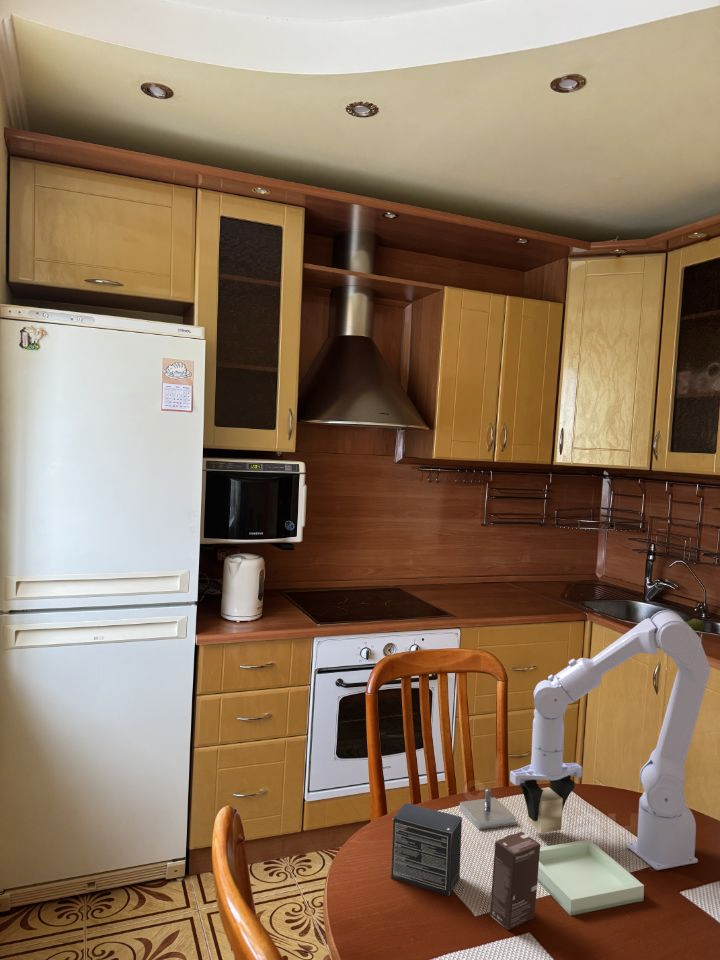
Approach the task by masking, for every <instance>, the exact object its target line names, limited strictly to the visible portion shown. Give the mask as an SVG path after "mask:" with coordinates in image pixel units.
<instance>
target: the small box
mask: <svg viewBox="0 0 720 960" xmlns="http://www.w3.org/2000/svg"><path fill="white" fill-rule="evenodd" d="M462 822H463V817H462V816H459V815H455V814H450V813H447V812H444V811H440V810H435V809H432V808H427V807H423V806H419V805H416V804H411V803H408V802H405V803H404V804H403V805H402V806H401V807H400V809H399V810H398V811H397V812H396V814H394V816H393V817H392V823H393V824H392V845H391V846H392V847H391V850H392V851H391V852H392V853H391V873H390V879H392V880H395V881H398V882H399V881H400V882H403V883H405V884H409V885H411V886H414V887H415V886H416V887H419V888H422V889H425V890H428V891H432V892H435V893H438V894H441V895H444V896H447V897H449V896H451V895H452V892H453V890H454V888H455V886H456V885H457V883H458V881H460V880H459V879H460V877H461V876H460V875H461V856H462V855H461V853H462V851H461V850H462V849H461V848H462V847H461V846H462V832H463V831H462V828H463V827H462V825H463V823H462Z"/></svg>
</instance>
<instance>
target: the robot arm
mask: <svg viewBox="0 0 720 960" xmlns="http://www.w3.org/2000/svg"><path fill="white" fill-rule="evenodd" d="M658 648H660V649H661V651H663V652H664V653H665V655H667V656H668V657H670V658H671V659H672V661H673V662H674V663H675V665H676V666H677V671H676V674H675V679H674V682H673V686H672V689H671V693H670V697H669V700H668V703H667V707H666V710H665V715H664V718H663V722H662V725H661V729H660V732H659V735H658V736H659V737H658V740H657V743H656V747H655V749H654V750H653V751H652V752H651V753H650V755H649V759H648V761H647V762H646V763H645V764H644V765H643V766H641V769H640V771H639V781H640V784H641V786H642V787H643V793H642V795H641V796H640V797H639V799H638V800H639V801H638V819H637V821H638V822H637V839H636V840H637V841H633V842H626V844H625V847H627V848H628V850H630V851H632V853H634V854H636V855H637V857H639V858H640V859H642V860H643V862H645V863H647V864H648V866H650V867H652V869H654V870H656V871H659V870H665V869H670V868H676V867H680V866H686V865H687V866H688V865H691V864H696V863H698V862H699V859H698V858H697V857H695V851H696V835H697V834H696V833H697V824H696V819H695V816H694V814H693V812H692V810H691V808H689V807H688V806H687V805H686V797H685V791H684V787H685V783H686V771H685V770H686V769H685V768H686V765H685V763H686V759H687V756H688V753H689V749H690V746H691V742H692V738H693V734H694V731H695V728H696V724H697V720H698V717H699V713H700V710H701V706H702V704H703V699H704V695H705V692H706V689H707V684H708V681H709V679H710V675H711V665H710V664H709V663H710V662H709V661H708V658H707V655H706V652H705V650H704V648H703V644H702V638H700V636H699V635H698V634H697V633H696V631H695V630H694V629H693V628H692V627H691V626H690V625H689V624H688V623H687V622H686V621H685V620H684V619H683V618H682V617H681V616H680V615H679V613H676V612H675V611H672V610H669V609H668V610H666V609H665V610H660V611H657V612H656V613H654V614H653V615H652V616H651V617H650V618H649V617H647V618H646V619H643V620H641V621H640V622H639V623H638V624H636V625H635V626H634V627H632V628H631V629H629V631H627V632H626V633H624V634H623V635H621V636H620V637H619V638H618V639H616V640H615V641H614V642H613V643H611V644H609V645H608V646H607V647H606V648H604V649H603V650H602V651H600V652H599V653H598V654H595V656H593V657H592V658H587V657H586V658H585V657H580V658H578V659H576V658H572V659H570V660H568V665H567V667H564V668H563V669H561V670H560V671H558V673H556V674H555V675H554V674H550V675H549V676H548V677H547V679H544V680H541V681H539V682H537V684H536V686H535V688H534V690H533V692H532V693H533V705H534V710H533V717H534V718H533V719H532V735H531V757H530V758H531V760H530V764H527V765H526V766H523V767H520V768H518V769H514V770H510V773H509V782H511V783H512V784H513V785H514V786H519V787H520V790H521V792H522V794H523V798H524V800H525V804H526V808H527V814H528V816H529V817H530V818H531V819H532V820H533V821H537V820H538V814H539V803H540V798H541V795H542V792H543V790H542V789H541V787H539V783H538V782H539V781H549V784H550V789H552V790H553V791H554V792H555V793H557V794H558V795H559V796H560V797H562V798H563V802H562V811H563V810H564V807H565V804H566V802H567V800H568V798H569V796H570V794H572V791H573V790H574V789H575V786H576V783H575V781H574V780H572V779H571V778H572V777H576V778H582V776H583V775H582V773H583V766H582V765H580V764H578V763H576V762H564V743H565V742H564V739H565V738H564V737H565V723H564V715H565V713H566V711H567V709H568V705H569V704H573V703H575V702H576V701H578V700H579V699H581V698H582V697H584V696H585V695H587V694H588V693H590V692H591V691H594V690H595V689H596V688H597V687H599V686H600V685H601V684H602V678H603V675H604V674H606V673H607V672H610V671H611V670H613V669H614V668H616V667H618V666H620V665H621V664H623V663H625V662H626V661H628V660H629V659H631V658H633V657H635V656H636V655H638V654H640V653H641V654H649V655H660V654H659V650H658Z"/></svg>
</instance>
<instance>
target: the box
mask: <svg viewBox="0 0 720 960" xmlns="http://www.w3.org/2000/svg"><path fill="white" fill-rule="evenodd" d="M540 847H541V843H539V842H538V841H537V840H536V839H534V838H532V837H531V836H529V835H528V834H527V833H525V832H523V831H519V832H516V833H514V834H509V835H506V836H505V837H503V838H501V839H500V838H499V839H497V840H495V842H494V856H493V866H492V867H493V868H492V880H491V882H492V883H491V893H490V894H491V895H490V906H489V907H490V908H489V916H490V917H491V918H492V919H493V920H494V921H496V922H497V923H498V924H500V925H501V926H502V927H503V928H504V929H506V930H508V931H510V930H513V929H514V928H516V927H518V926H520V925H522V924H524V923H527V922H528V921H531V920H533V919H535V918H536V917H535V916H536V904H537V891H538V890H537V889H538V881H537V880H538V867H539V855H540Z"/></svg>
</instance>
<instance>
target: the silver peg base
mask: <svg viewBox="0 0 720 960" xmlns="http://www.w3.org/2000/svg"><path fill="white" fill-rule="evenodd" d="M459 810H460V811H461V812H462V813H463V815H464V816H465V817H466V818H467V819H468V820H469V821H470V823H472V824H473V826H475V828H476V829H477V830H478V831H481V830H487V829H494V828H501V827H507V826H515V825H516V820H517V816H515V814H513V813H512V812H511V811H510V810H509V809H508V808H507V807H506V806H505V805H504V804H503V803H502V802H501V801H499V800H498V798H496V797H492V789H491V788H490V787H486V788H484V798H481V799H479V798H478V799H473V800H465V801H460V802H459Z"/></svg>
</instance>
